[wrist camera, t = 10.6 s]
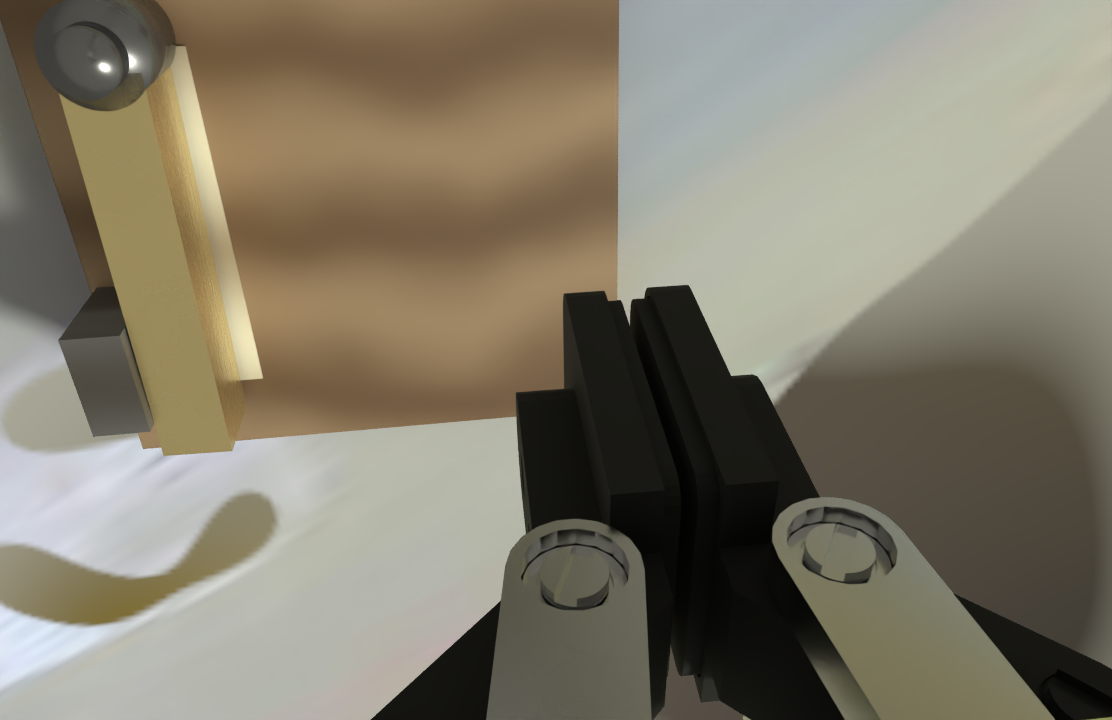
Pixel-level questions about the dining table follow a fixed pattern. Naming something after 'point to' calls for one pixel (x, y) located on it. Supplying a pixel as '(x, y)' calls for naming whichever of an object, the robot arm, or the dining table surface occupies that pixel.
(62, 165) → the lock board
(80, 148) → the bar
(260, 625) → the dining table surface
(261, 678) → the dining table surface
